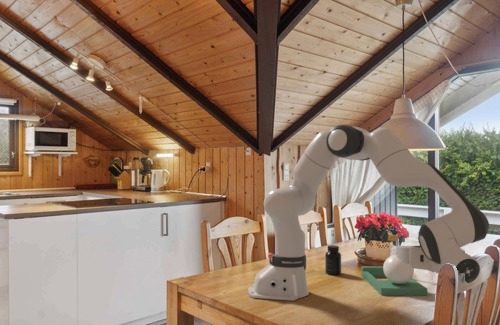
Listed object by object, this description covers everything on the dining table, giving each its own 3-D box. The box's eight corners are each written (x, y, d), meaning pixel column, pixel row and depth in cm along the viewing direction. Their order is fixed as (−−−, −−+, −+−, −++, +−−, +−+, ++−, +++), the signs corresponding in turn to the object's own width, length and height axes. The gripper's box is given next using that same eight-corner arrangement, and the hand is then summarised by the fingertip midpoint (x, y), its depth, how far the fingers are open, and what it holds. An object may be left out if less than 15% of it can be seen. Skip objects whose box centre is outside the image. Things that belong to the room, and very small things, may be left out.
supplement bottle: (331, 270, 183) (331, 243, 183) (344, 273, 178) (344, 246, 178) (322, 273, 178) (322, 246, 178) (335, 276, 174) (335, 248, 174)
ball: (388, 287, 150) (389, 258, 150) (379, 279, 161) (379, 251, 161) (418, 288, 150) (418, 258, 150) (406, 279, 161) (407, 251, 161)
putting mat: (381, 295, 150) (381, 246, 150) (361, 275, 176) (361, 233, 176) (427, 295, 150) (427, 246, 150) (400, 275, 176) (400, 234, 176)
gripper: (473, 247, 123) (450, 239, 137) (406, 247, 123) (390, 238, 136) (473, 268, 123) (450, 257, 137) (406, 268, 123) (390, 257, 136)
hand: (419, 248), depth 137 cm, fingers open, 3 cm apart
